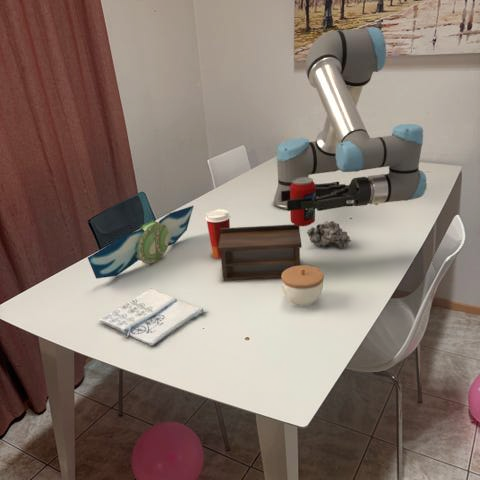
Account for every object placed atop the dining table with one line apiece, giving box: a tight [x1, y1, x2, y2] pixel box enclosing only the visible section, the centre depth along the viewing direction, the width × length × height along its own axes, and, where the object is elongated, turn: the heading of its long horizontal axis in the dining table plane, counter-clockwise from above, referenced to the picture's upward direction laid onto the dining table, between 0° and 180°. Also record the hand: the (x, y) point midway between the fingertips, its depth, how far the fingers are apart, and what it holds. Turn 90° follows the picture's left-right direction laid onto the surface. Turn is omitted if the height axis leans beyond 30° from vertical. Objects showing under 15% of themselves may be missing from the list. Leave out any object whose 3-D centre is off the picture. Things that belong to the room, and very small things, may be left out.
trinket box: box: [281, 264, 325, 308], centre depth 119 cm, size 11×11×9 cm
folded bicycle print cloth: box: [99, 288, 204, 347], centre depth 119 cm, size 19×20×2 cm
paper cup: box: [204, 209, 231, 260], centre depth 145 cm, size 8×8×14 cm
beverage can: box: [289, 176, 316, 227], centre depth 125 cm, size 7×7×12 cm
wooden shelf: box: [218, 223, 302, 282], centre depth 134 cm, size 11×23×12 cm, turn 87°
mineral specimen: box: [306, 220, 352, 250], centre depth 146 cm, size 12×9×10 cm
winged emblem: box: [87, 205, 194, 279], centre depth 145 cm, size 45×5×14 cm, turn 144°
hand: (284, 200), depth 124 cm, fingers closed on beverage can, 7 cm apart
